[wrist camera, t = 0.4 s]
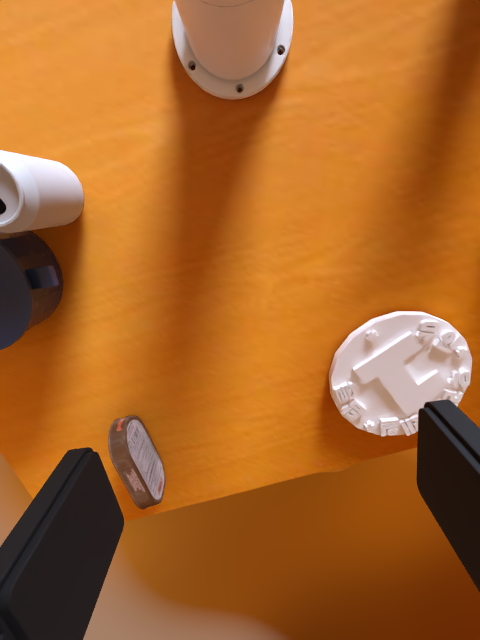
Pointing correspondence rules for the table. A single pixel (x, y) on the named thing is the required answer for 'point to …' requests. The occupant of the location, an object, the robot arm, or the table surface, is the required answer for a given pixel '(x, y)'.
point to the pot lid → (13, 298)
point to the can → (37, 193)
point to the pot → (37, 271)
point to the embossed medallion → (398, 371)
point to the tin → (136, 461)
